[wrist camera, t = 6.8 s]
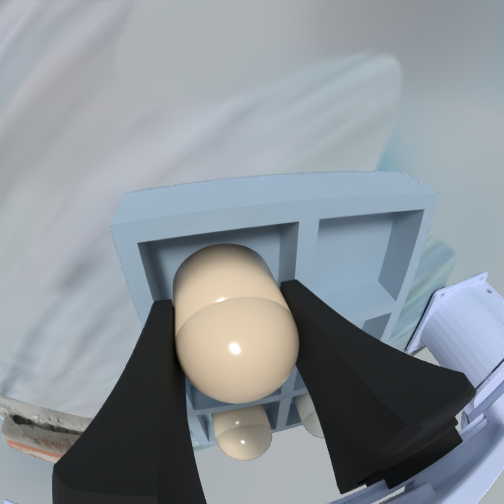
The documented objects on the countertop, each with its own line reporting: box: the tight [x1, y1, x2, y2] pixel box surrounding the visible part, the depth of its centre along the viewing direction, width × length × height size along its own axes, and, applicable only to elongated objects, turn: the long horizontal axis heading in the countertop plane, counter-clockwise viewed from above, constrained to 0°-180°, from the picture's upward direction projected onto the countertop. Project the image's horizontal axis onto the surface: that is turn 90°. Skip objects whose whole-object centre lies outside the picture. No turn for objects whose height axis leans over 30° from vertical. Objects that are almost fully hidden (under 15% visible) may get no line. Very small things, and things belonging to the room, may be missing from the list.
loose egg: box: [173, 243, 299, 404], centre depth 9 cm, size 4×4×5 cm
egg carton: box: [110, 171, 438, 446], centre depth 16 cm, size 14×20×3 cm
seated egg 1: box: [211, 404, 272, 461], centre depth 17 cm, size 4×4×5 cm
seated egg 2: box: [292, 392, 324, 438], centre depth 19 cm, size 4×4×5 cm
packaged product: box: [0, 395, 93, 463], centre depth 19 cm, size 18×5×10 cm
